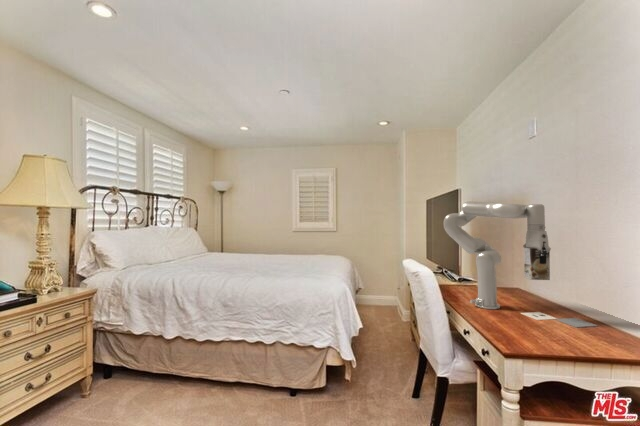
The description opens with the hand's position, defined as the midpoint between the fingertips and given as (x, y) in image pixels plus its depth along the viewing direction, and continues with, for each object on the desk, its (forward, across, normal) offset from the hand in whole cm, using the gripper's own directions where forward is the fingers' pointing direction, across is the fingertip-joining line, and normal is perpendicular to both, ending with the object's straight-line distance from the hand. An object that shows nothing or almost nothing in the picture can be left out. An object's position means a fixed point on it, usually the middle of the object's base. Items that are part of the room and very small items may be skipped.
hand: (536, 262), depth 159 cm
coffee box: (+9, 0, 0) cm, 9 cm away
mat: (+28, -12, -9) cm, 31 cm away
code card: (+28, 0, 0) cm, 28 cm away
